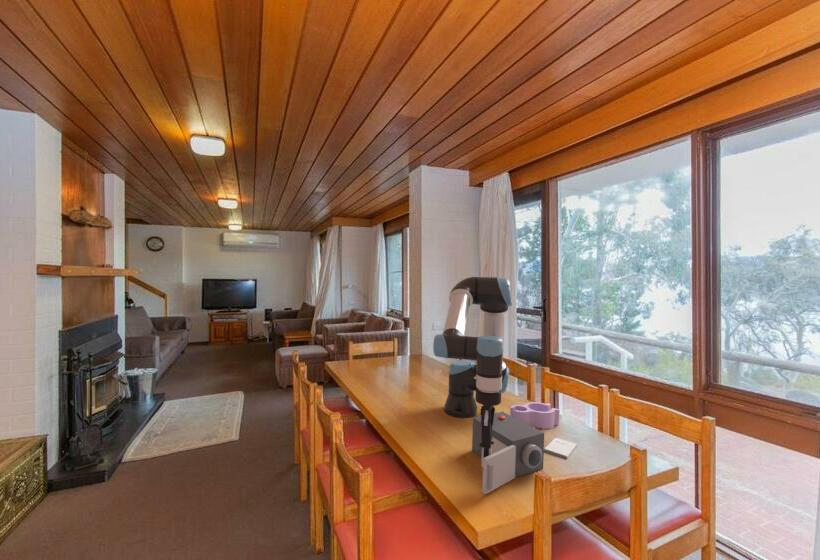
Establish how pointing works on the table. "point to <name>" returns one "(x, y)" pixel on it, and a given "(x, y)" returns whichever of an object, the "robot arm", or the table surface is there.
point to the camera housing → (513, 441)
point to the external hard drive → (560, 448)
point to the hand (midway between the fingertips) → (486, 466)
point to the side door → (498, 468)
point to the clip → (536, 414)
